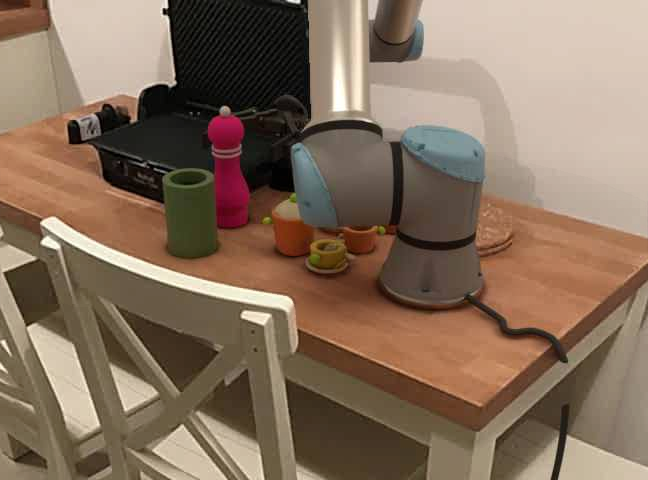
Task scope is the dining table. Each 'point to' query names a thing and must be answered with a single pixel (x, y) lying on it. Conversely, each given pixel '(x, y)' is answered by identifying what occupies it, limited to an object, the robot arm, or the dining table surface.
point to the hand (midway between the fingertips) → (237, 147)
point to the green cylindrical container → (190, 212)
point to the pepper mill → (228, 170)
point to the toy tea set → (326, 252)
